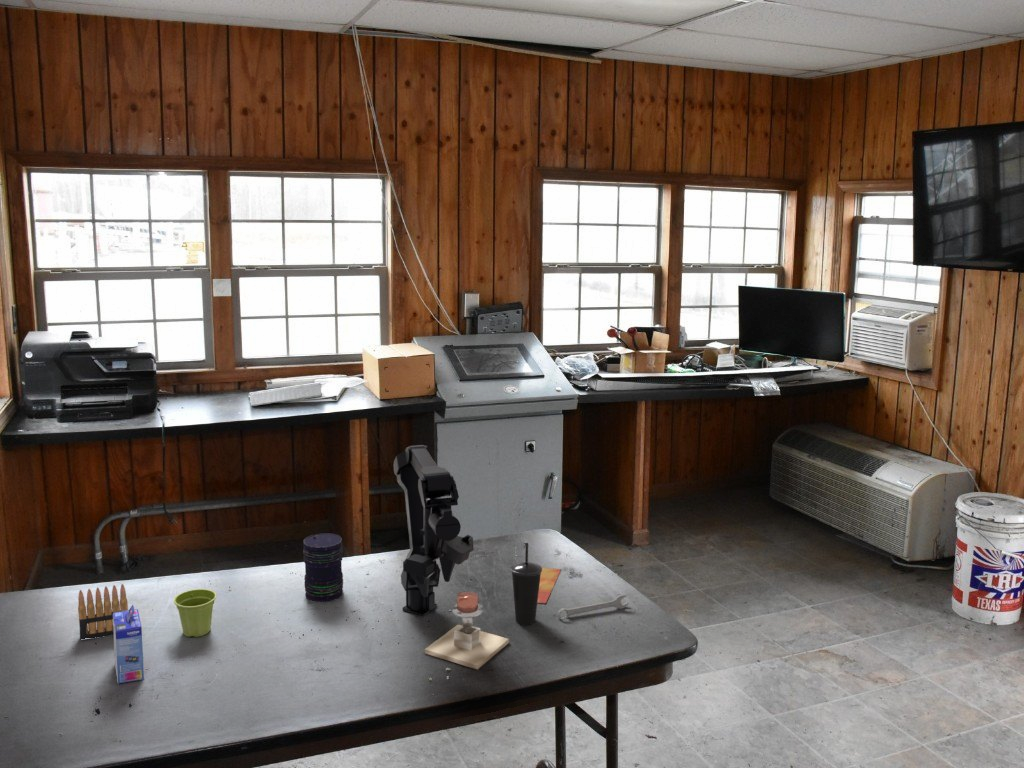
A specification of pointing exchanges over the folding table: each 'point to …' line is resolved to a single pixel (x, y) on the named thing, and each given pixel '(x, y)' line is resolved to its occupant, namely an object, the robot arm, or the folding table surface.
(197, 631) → the plant pot
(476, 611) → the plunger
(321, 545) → the storage jar
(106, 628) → the ammunition clip
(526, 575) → the drinking cup
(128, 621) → the ink cartridge box
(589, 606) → the combination wrench
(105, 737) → the folding table surface
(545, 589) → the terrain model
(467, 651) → the stand
